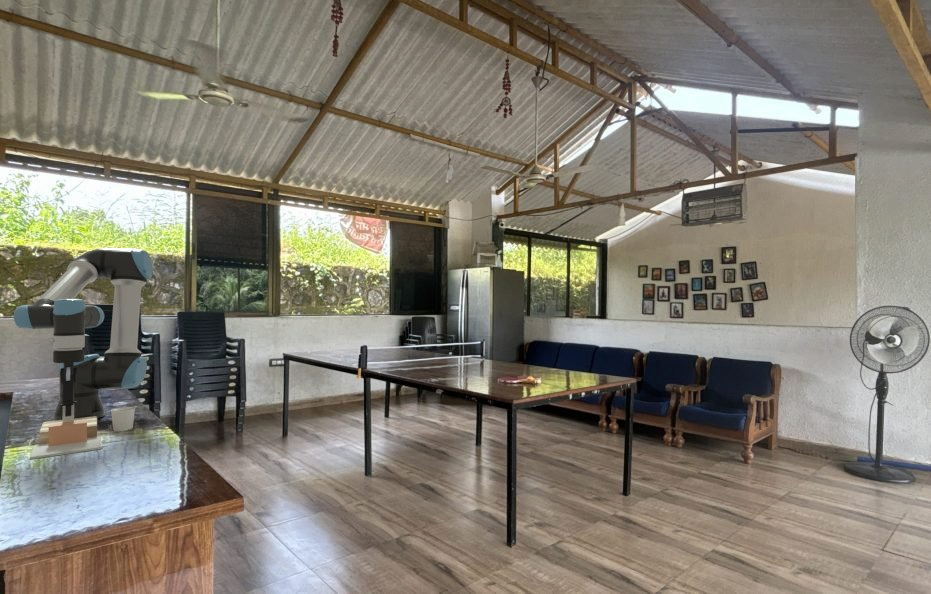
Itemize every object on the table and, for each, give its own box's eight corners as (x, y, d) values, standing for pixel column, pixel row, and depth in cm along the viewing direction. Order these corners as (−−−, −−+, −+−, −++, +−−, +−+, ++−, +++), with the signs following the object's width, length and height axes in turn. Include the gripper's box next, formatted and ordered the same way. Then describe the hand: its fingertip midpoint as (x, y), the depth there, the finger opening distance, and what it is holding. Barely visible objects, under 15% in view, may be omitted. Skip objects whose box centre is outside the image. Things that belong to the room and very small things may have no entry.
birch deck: (43, 434, 162) (43, 422, 162) (96, 427, 170) (96, 416, 170) (39, 445, 149) (39, 432, 149) (97, 438, 158) (97, 425, 158)
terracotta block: (49, 424, 148) (48, 426, 146) (87, 419, 153) (86, 422, 152) (49, 443, 149) (48, 446, 147) (86, 438, 154) (86, 440, 152)
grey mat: (34, 447, 148) (34, 445, 148) (100, 438, 157) (100, 436, 157) (29, 459, 137) (29, 457, 137) (101, 448, 146) (101, 446, 146)
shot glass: (113, 427, 171) (113, 407, 171) (136, 425, 174) (136, 405, 174) (108, 432, 165) (108, 411, 165) (133, 430, 168) (133, 409, 168)
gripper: (54, 348, 155) (53, 423, 154) (51, 351, 144) (50, 432, 144) (84, 347, 159) (84, 420, 159) (84, 350, 149) (83, 428, 148)
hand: (68, 426), depth 151 cm, fingers closed
